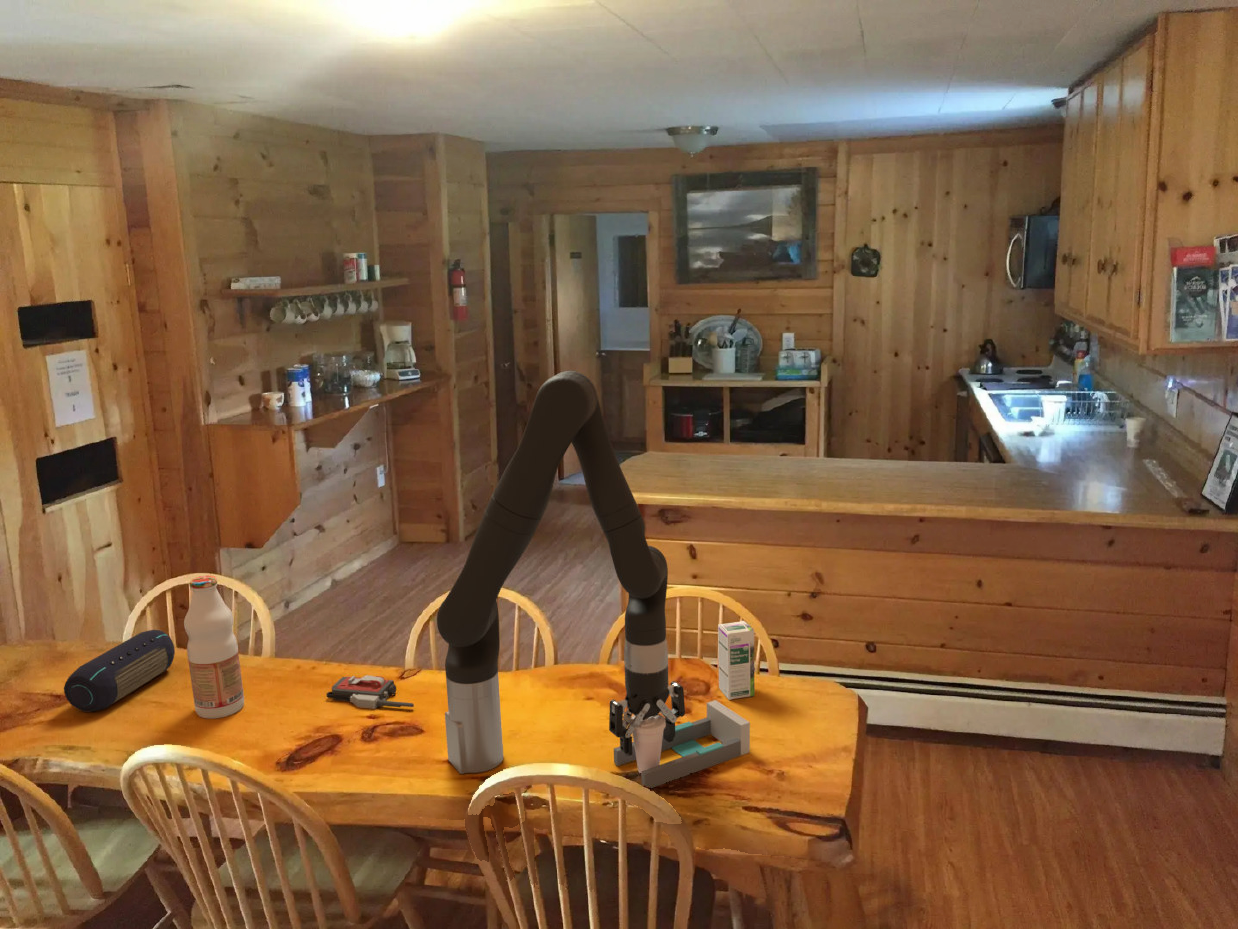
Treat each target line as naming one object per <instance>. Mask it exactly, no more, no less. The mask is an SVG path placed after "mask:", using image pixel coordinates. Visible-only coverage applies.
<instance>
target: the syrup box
mask: <svg viewBox="0 0 1238 929" xmlns="http://www.w3.org/2000/svg"><path fill="white" fill-rule="evenodd" d="M717 636H718V637H717V638H718V639H717V640H718V641H717V642H718V643H717V645H718V646H717V648H718V650H717V651H718V688H719V690H720V691H721V693H722V694H723V695H724V696H725V698H727V700H729V701H731V700H734V699H742V698H749V697H755V630H754V628H752V626H751V625H750V624H749V623H748V622H746V621H745V620H740V621H735V622H728V623H719V624H717Z"/></svg>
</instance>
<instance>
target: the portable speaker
mask: <svg viewBox="0 0 1238 929" xmlns="http://www.w3.org/2000/svg"><path fill="white" fill-rule="evenodd" d="M175 653H176V651H175V644H174V642H173V640H172V639H171V637H170V635H169V634H167V633H166V632H165V631H163V630H161V629H151V630H146V631H142V632H139V633H137V634H136V635H133V636H132V637H131V638H129V639H127V640H126V641H123V642H121V643H120V644H118V645H117V646H114V647H113V648H111V649H109V650H107V651H105V652H103V653H101V654H100V655H98V656H96V657H95V658H93V659H91V660H89V661H87V662H85V663H84V664H82V665H80V666H79V667H78V668H77V669H75V670H74V672H73V673H72V674H70V675H69V676H68V678H66V679H67V680H66V681H65V682H64V685H63V686H64V687H63V693H64V695H65V698H66V700H67V701H68V702H69V704H70V705H71V706H73V707H74V708H75V709H77V710H79V711H80V712H85V713H86V712H87V713H90V712H96V711H102V710H105V709H107V708H109V707H110V706H111V705H113V704H114V703H116V702H117V701H119V700H121V699H123V698H124V697H125V696H127V695H129V694H130V693H133V692H134V691H135V690H137V689H139V687H142V686H143V685H145V684H146V683H148V682H149V681H152V679H154V678H156V677H157V676H159V675H160V674H163V673H164V672H165V671H167V670H168V669H169V668H170V667H171V666H172V664H173V661H174V658H175Z"/></svg>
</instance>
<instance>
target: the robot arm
mask: <svg viewBox="0 0 1238 929" xmlns="http://www.w3.org/2000/svg"><path fill="white" fill-rule="evenodd" d="M598 396H599V395H598V393H597V388H596V387H595V385H594V383H593V381H592V380H591V379H590V378H589V377H588V376H586V375H585V374H584V373H582V372H580V371H579V372H578V371H575V370H565V371H562V372H559V373H557V374H555V375H553V376H552V377H550V378H548V379H547V380H545V381H544V382H543V384H542V385H541V386H540V387H539V389H538V391H537V393H536V396H535V398H534V401H533V404H532V407H531V411H530V415H529V416H528V420H527V422H526V426H525V429H524V432H523V435H522V437H521V439H520V442H519V444H518V446H517V449H516V450H515V452H514V454H513V455H512V457H511V459H510V460H509V462H508V464H507V466H506V467H505V469H504V471H503V473H502V475H501V476H500V479H499V481H498V483H497V485H496V487H495V488H494V490H493V493H492V495H491V496H490V499H489V501H488V503H487V506H486V508H485V509H484V512H483V514H482V517H481V520H480V522H479V526H477V529H476V532H475V535H474V538H473V540H472V544H471V545H470V546H471V547H470V549H469V552H468V555H467V558H466V561H465V564H464V566H463V567H462V570H461V571H460V573H459V576H458V577H457V579H456V580H455V583H454V584H453V585H452V587H451V589H450V590H449V591H448V592H449V593H448V594H447V596H446V597H445V599H444V600H443V601H442V602H441V604H440V606H439V607H438V611H437V613H436V614H437V615H436V626H437V627H436V628H437V631H438V633H439V635H440V637H441V639H443V640H444V641H445V643H447V644H448V647H447V651H446V652H447V653H446V656H445V657H446V658H445V662H444V668H445V670H444V671H445V679H446V680H445V681H446V684H445V685H446V694H447V698H446V699H447V709H448V711H445V713H444V722H445V734H446V735H445V737H446V748H447V760H448V761H449V763H450V764H451V765H452V766H453V767H454V768H455V769H456V771H457V772H458V773H459V774H461V775H464V774H468V773H475V774H476V773H483V772H487V771H491V770H493V769H495V768H497V767H498V766H499V765H500V764H501V763H502V761H503V760H504V745H503V744H504V743H503V730H502V729H503V728H502V716H501V714H502V712H501V698H500V696H501V695H500V681H499V679H500V678H499V665H498V664H499V656H500V645H501V644H500V619H499V618H500V616H499V614H500V612H499V605H498V601H497V599H498V596H499V594H500V592H501V589H502V587H503V586H504V584H505V582H506V580H507V578H508V577H509V576H510V574H511V572H512V571H513V569H515V566H516V565H517V564H518V562H519V560H520V559H521V558H522V556H523V555H524V553H525V551H526V550H527V548H528V546H529V544H530V542H531V541H532V539H533V537H534V536H535V533H536V531H537V530H538V528H539V525H540V523H541V521H542V518H543V516H544V515H545V512H546V510H547V507H548V504H549V501H550V499H551V495H552V491H553V488H554V483H555V479H556V474H557V471H558V469H559V467H560V464H561V462H562V460H563V458H564V456H565V454H566V452H567V451H568V449H569V447H570V446H571V445H572V446H573V449H574V451H575V454H576V456H577V458H578V459H577V460H578V462H579V465H580V469H581V472H582V476H583V479H584V483H585V488H586V491H587V496H588V499H589V501H590V504H591V507H592V509H593V512H594V515H595V517H596V519H597V521H598V523H599V526H600V529H601V530H602V532H603V534H604V536H605V538H606V540H607V544H608V547H609V552H610V556H611V559H612V560H611V561H612V564H613V568H614V569H615V570H614V571H615V574H616V576H617V579H618V581H619V583H620V585H621V586H622V589H624V590H625V591H626V593H627V594H628V602H627V606H626V609H625V614H624V649H623V655H624V656H623V661H624V662H623V663H624V685H625V686H624V687H625V690H626V694H625V697H624V699H623V700H618V701H617V700H616V699H610V701H609V718H608V720H609V723H608V725H609V726H608V730H609V732H610V733H612V734H613V735H614V736H615V737H616V738H619V747H620V749H621V751H622V752H624V753H625V754H626V755H627V756H631V755H632V742H633V735H632V733H633V731H634V729H635V728H636V727H638V726H639V724H640V722H641V720H645V719H648V718H649V717H654V716H657V715H658V714H660V715H662V716H663V717H664V718H665V723H666V727H665V728H664V730H663V737H664V739H665V740H666V741H668V742H672V741H673V738H674V737H675V726H676V722H677V721H678V718H682V717H684V716H686V708H685V707H686V705H685V693H684V691H685V690H684V689H685V688H684V686H682V685H681V684H679V683H678V682H677V681H674V680H673V681H670V684H669V648H668V642H667V622H666V621H667V620H666V619H667V618H666V601H667V590H668V577H669V576H668V573H669V570H668V569H669V568H668V562H667V559H666V557H665V555H664V554H663V553H662V551H660V550H659V549H658V548H657V547H654V546H652V545H649V544H648V541H647V539H646V523H645V520H644V518H643V514H642V513H641V511H640V508H639V506H638V504H637V501H636V499H635V496H634V494H633V493H632V490H631V488H630V486H629V484H628V482H627V479H626V477H625V475H624V472H623V469H622V468H621V466H620V463H619V460H618V458H617V456H616V453H615V450H614V448H613V445H612V443H611V439H610V436H609V433H608V431H607V427H606V425H605V421H604V416H603V412H602V408H601V405H600V401H599V397H598ZM669 696H670V700H671V701H670V702H671V708H670V707H668V705H667V704H666V702H667V700H668V698H669ZM633 715H635V718H634V719H632V716H633Z"/></svg>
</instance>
